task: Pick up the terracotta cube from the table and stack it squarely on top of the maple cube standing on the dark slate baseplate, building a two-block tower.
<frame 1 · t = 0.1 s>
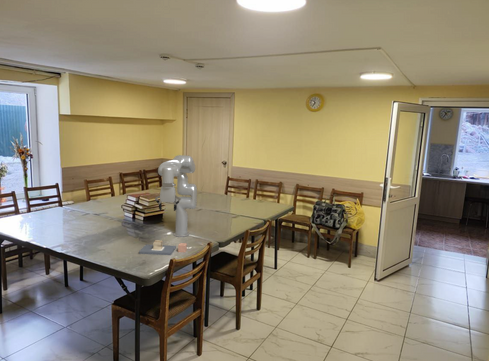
hand: (167, 210, 227), 31 cm above the table, tool pointing down, fingers open, 9 cm apart
slate baseplate: (158, 250, 237), on the table
terracotta cube: (182, 251, 238), on the table
maple cube: (158, 248, 236), point 2 cm above the table, touching slate baseplate
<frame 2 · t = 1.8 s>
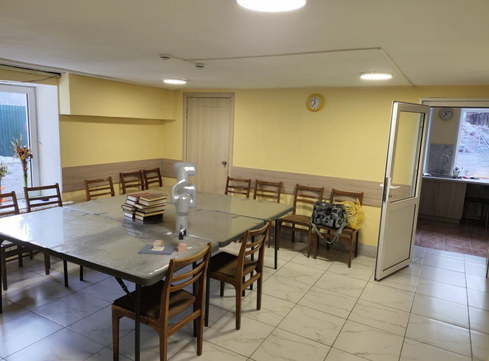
hand: (182, 237, 236), 10 cm above the table, tool pointing down, fingers open, 9 cm apart
nothing on the table moved.
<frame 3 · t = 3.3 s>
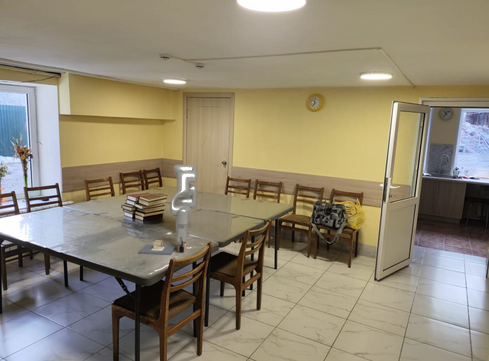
hand: (182, 250, 238), 0 cm above the table, tool pointing down, fingers closed on terracotta cube, 5 cm apart
terracotta cube: (182, 251, 238), on the table, touching gripper
everything else where it was.
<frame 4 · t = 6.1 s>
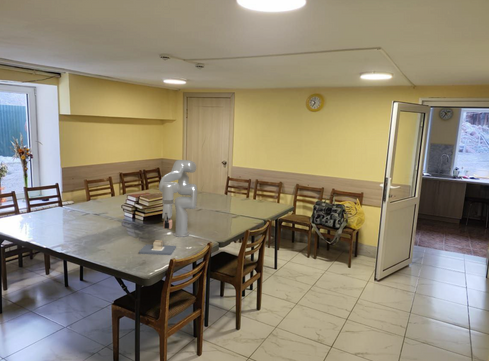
hand: (167, 226, 235), 17 cm above the table, tool pointing down, fingers closed on terracotta cube, 4 cm apart
terracotta cube: (167, 227, 235), point 17 cm above the table, touching gripper
everything else where it was.
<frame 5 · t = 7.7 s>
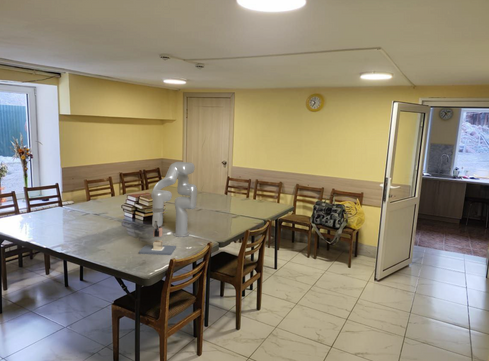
hand: (157, 235, 235), 11 cm above the table, tool pointing down, fingers closed on terracotta cube, 4 cm apart
terracotta cube: (157, 235, 235), point 11 cm above the table, touching gripper
everything else where it was.
when the fingers open (8 cm above the table, at t = 9.0 s): terracotta cube drops 1 cm, resting on maple cube.
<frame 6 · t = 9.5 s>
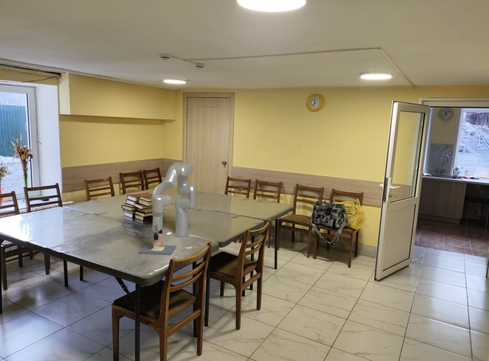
hand: (158, 237, 235), 9 cm above the table, tool pointing down, fingers open, 9 cm apart
terracotta cube: (158, 241, 236), point 7 cm above the table, touching maple cube
maple cube: (158, 248, 236), point 2 cm above the table, touching slate baseplate, terracotta cube
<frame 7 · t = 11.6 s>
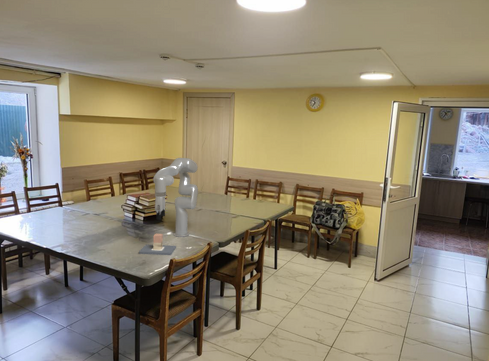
hand: (160, 217, 236), 23 cm above the table, tool pointing down, fingers open, 9 cm apart
nothing on the table moved.
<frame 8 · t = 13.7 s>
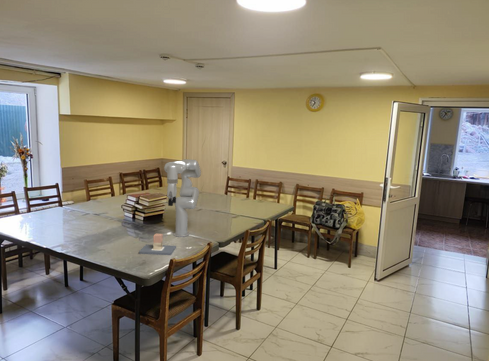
hand: (172, 204, 248), 30 cm above the table, tool pointing down, fingers open, 9 cm apart
nothing on the table moved.
at the end: terracotta cube 0.0 cm off-centre on the maple cube, point 5.0 cm above the maple cube's base; terracotta cube tilted 0°; maple cube moved 0.0 cm from its start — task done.
